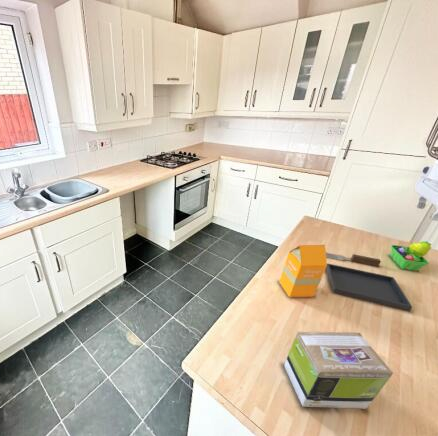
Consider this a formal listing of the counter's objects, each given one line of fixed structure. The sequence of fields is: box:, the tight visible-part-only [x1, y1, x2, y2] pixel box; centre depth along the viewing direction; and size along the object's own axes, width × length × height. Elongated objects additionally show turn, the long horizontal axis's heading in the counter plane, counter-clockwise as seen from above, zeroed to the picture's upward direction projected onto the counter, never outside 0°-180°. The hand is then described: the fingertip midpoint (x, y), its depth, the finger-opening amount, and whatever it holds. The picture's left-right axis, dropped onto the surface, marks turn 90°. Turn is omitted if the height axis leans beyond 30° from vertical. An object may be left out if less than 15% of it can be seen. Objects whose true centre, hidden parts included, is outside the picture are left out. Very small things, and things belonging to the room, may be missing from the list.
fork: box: [326, 252, 382, 267], centre depth 103 cm, size 18×3×3 cm, turn 66°
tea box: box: [283, 331, 394, 410], centre depth 58 cm, size 15×10×15 cm, turn 88°
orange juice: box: [279, 244, 328, 298], centre depth 85 cm, size 8×9×20 cm
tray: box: [325, 262, 413, 312], centre depth 90 cm, size 21×15×2 cm
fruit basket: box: [389, 240, 432, 272], centre depth 99 cm, size 11×9×11 cm
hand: (426, 213), depth 84 cm, fingers open, 8 cm apart
